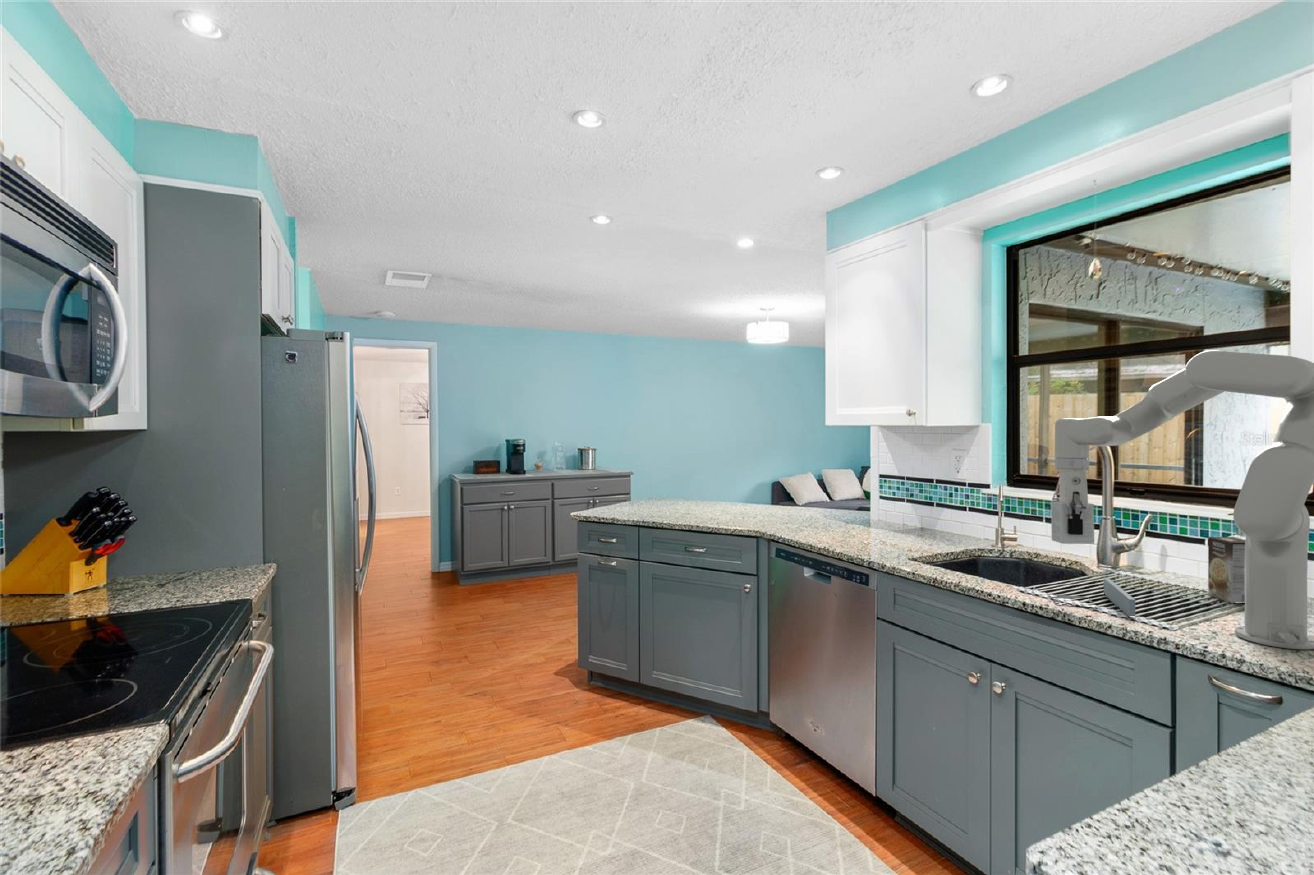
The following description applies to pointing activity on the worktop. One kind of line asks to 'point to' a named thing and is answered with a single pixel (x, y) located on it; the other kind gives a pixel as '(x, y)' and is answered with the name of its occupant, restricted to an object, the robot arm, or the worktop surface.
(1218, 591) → the coffee box
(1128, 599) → the low wall
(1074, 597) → the mat
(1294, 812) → the worktop surface
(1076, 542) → the small box
